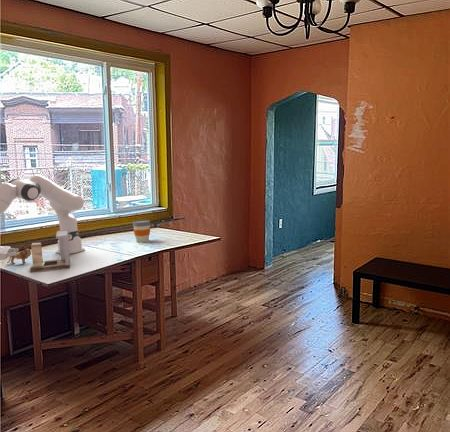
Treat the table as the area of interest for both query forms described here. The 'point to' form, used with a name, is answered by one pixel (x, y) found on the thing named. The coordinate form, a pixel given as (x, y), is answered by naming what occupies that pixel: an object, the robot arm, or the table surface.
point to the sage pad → (37, 265)
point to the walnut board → (51, 265)
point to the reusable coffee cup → (141, 230)
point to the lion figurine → (21, 256)
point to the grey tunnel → (63, 245)
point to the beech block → (37, 253)
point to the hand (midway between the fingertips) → (17, 251)
